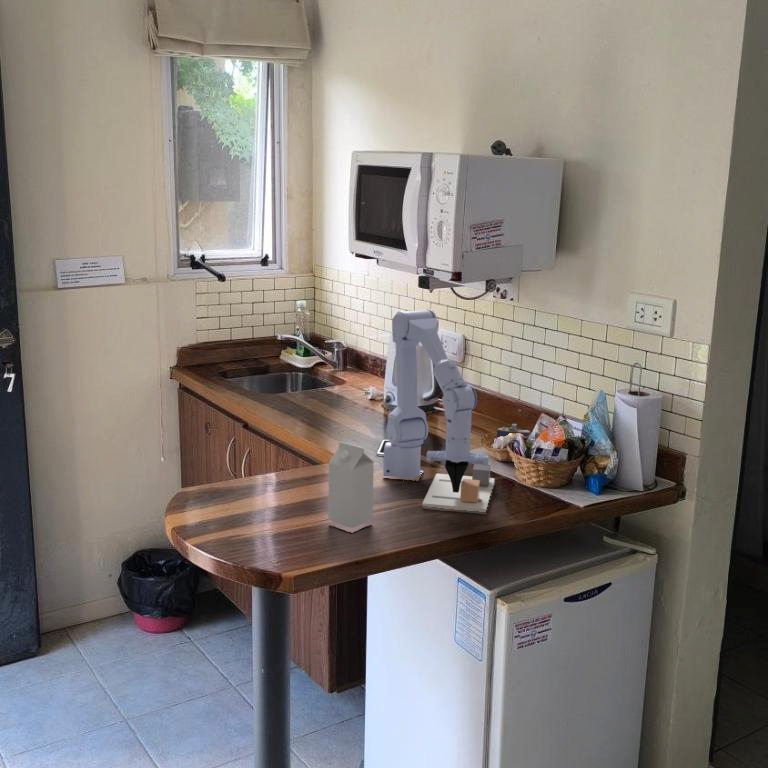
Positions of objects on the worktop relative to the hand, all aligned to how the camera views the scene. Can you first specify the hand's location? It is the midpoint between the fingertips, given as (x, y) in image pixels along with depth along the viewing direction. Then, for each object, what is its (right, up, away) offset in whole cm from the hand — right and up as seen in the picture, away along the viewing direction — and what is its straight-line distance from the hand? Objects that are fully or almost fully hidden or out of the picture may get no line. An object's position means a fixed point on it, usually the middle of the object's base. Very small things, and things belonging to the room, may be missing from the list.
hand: (456, 491), depth 220 cm
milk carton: (-25, -6, -13) cm, 29 cm away
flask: (+18, +4, +34) cm, 39 cm away
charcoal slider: (+7, +1, +11) cm, 13 cm away
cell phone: (-15, +7, +43) cm, 46 cm away
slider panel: (+1, -2, +7) cm, 7 cm away
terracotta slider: (+3, -2, 0) cm, 4 cm away
